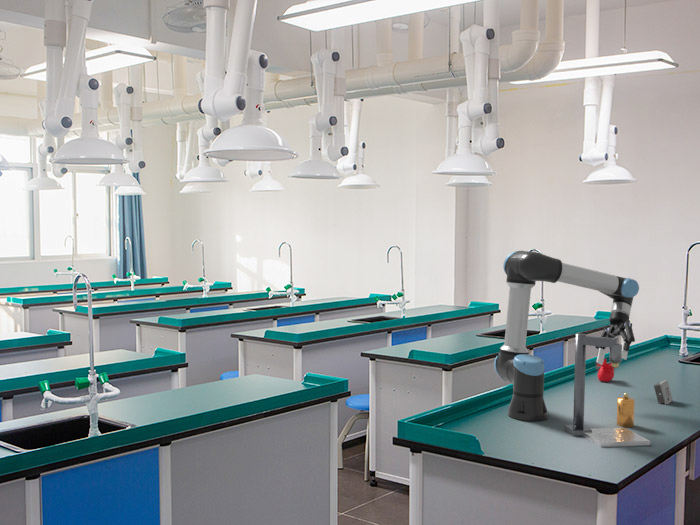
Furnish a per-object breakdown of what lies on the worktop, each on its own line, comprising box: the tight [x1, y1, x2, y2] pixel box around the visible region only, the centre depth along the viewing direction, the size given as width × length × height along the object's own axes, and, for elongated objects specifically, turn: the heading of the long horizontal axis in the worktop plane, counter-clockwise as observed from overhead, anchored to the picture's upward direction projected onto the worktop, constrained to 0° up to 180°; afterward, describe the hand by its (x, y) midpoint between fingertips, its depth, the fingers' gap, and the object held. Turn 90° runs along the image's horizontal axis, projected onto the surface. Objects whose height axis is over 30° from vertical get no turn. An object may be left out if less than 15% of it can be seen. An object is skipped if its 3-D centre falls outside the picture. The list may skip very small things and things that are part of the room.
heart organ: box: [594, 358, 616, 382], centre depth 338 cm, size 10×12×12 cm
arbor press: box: [564, 333, 651, 448], centre depth 244 cm, size 22×20×36 cm
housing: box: [616, 392, 635, 428], centre depth 261 cm, size 6×6×12 cm
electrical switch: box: [653, 379, 674, 405], centre depth 297 cm, size 9×5×9 cm, turn 141°
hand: (611, 361), depth 281 cm, fingers open, 13 cm apart
